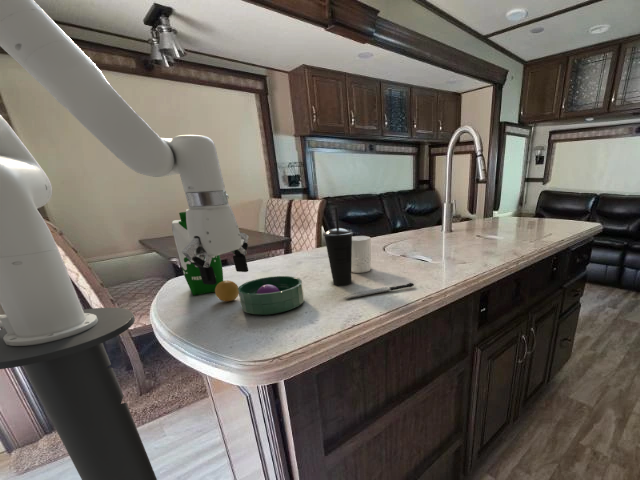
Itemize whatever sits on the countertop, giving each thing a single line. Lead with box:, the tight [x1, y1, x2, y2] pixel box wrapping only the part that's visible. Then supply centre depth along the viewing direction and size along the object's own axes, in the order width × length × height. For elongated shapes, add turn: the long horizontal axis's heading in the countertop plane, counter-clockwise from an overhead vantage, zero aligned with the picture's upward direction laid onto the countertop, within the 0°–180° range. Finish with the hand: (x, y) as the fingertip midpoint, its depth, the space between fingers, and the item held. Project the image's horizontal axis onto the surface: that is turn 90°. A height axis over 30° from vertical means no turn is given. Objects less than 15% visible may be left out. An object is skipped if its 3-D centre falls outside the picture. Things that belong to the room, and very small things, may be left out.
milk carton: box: [171, 211, 224, 297], centre depth 80 cm, size 9×9×20 cm
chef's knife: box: [343, 282, 415, 300], centre depth 79 cm, size 19×1×3 cm
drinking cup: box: [322, 207, 354, 286], centre depth 83 cm, size 8×8×20 cm
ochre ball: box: [214, 279, 239, 303], centre depth 74 cm, size 5×5×5 cm
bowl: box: [238, 275, 305, 316], centre depth 71 cm, size 13×13×5 cm
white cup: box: [351, 235, 372, 274], centre depth 97 cm, size 8×8×10 cm
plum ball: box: [256, 284, 279, 294], centre depth 69 cm, size 5×5×5 cm
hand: (227, 277), depth 73 cm, fingers open, 9 cm apart
